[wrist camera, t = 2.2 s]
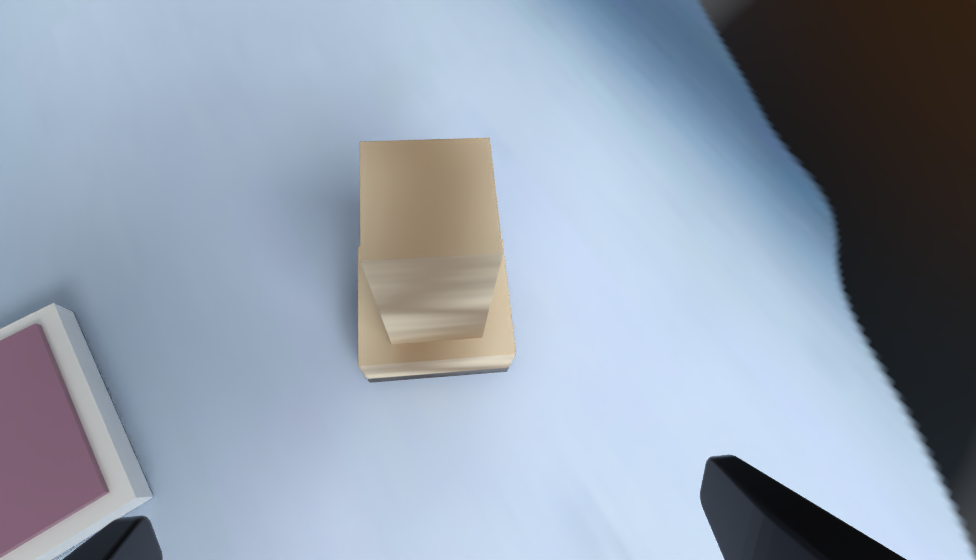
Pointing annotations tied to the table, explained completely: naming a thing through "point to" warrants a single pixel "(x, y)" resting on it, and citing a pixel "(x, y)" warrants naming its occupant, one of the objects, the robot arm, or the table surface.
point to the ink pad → (58, 441)
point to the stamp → (431, 262)
